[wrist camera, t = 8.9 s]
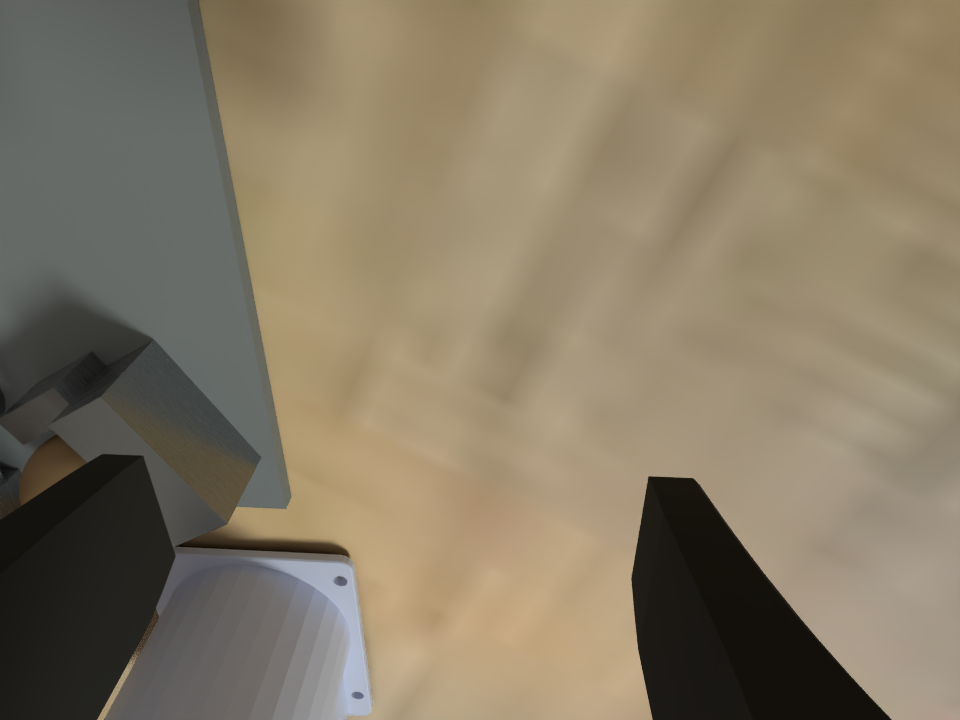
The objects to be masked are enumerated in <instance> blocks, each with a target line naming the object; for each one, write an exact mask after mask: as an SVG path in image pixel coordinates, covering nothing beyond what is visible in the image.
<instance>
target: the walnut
mask: <svg viewBox="0 0 960 720" xmlns="http://www.w3.org/2000/svg"><path fill="white" fill-rule="evenodd" d="M86 463H87V462H86V461H85V460H84V459H83V458H82V457H81V456H80V455H79V454H78V453H77V452H76V451H75V450H73V449H72V448H71V447H70V446H69V445H68V444H67V443H66V442H65V441H64V440H63V439H62V438H61V437H60V436H58V435H57V434H56V435H54V436H53V437H51V438H50V439H48V440H47V441H45V442H44V443H43V444H42V445H40V446H39V447H38V448H37V449H36V450H35V451H34V453H33V454H32V455H31V456H30V458H29V459H28V461H27V463H26V464H25V466H24V469H23V471H22V474H21V477H20V483H19V499H20V504H21V506H22V505H23V504H25V503H26V502H28V501H29V500H31V499H32V498H34V497H35V496H37V495H38V494H40V493H41V492H43V491H44V490H46V489H47V488H49V487H50V486H52V485H53V484H55V483H56V482H58V481H59V480H61V479H62V478H64V477H66V476H67V475H69V474H70V473H72V472H73V471H75V470H76V469H78V468H80V467H81V466H83V465H84V464H86Z"/></svg>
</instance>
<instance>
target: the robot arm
mask: <svg viewBox="0 0 960 720" xmlns="http://www.w3.org/2000/svg"><path fill="white" fill-rule="evenodd" d="M339 576H341V577H339ZM343 577H344V578H343ZM631 579H632V590H633V601H634V612H635V623H636V632H637V642H638V650H639V655H640V660H641V665H642V670H643V675H644V680H645V685H646V689H647V694H648V699H649V704H650V709H651V714H652V718H653V720H891V719H890V717H889V716H888V715H887V714H886V713H885V712H884V711H883V710H882V709H881V708H880V707H879V706H878V705H877V704H876V703H875V702H874V701H873V700H872V699H871V698H870V697H869V695H868V694H867V693H866V692H865V691H864V690H863V689H862V688H861V687H860V686H859V685H858V684H857V683H856V681H855V680H854V679H853V678H852V677H851V676H850V675H849V674H848V673H847V672H846V670H845V669H844V668H843V667H842V666H841V665H840V664H839V662H838V661H837V660H836V659H835V658H834V657H833V656H832V655H831V653H830V652H829V651H828V650H827V649H826V648H825V647H824V646H823V644H822V643H821V642H820V641H819V640H818V639H817V638H816V636H815V635H814V634H813V633H812V632H811V630H810V629H809V628H808V627H807V626H806V625H805V623H804V622H803V621H802V620H801V619H800V617H799V616H798V615H797V614H796V613H795V611H794V610H793V609H792V608H791V606H790V605H789V604H788V603H787V601H786V600H785V599H784V598H783V596H782V595H781V594H780V593H779V591H778V590H777V589H776V588H775V586H774V585H773V584H772V583H771V581H770V580H769V579H768V578H767V576H766V575H765V574H764V573H763V571H762V570H761V569H760V567H759V566H758V565H757V564H756V562H755V561H754V560H753V558H752V557H751V556H750V554H749V553H748V552H747V550H746V549H745V548H744V546H743V545H742V544H741V542H740V541H739V540H738V538H737V537H736V536H735V534H734V533H733V531H732V530H731V529H730V527H729V526H728V525H727V523H726V522H725V520H724V519H723V518H722V516H721V515H720V513H719V512H718V511H717V509H716V508H715V506H714V505H713V503H712V502H711V501H710V499H709V498H708V496H707V495H706V493H705V492H704V491H703V489H702V488H701V486H700V485H699V484H698V483H697V482H696V481H695V480H694V479H693V478H674V477H650V476H649V477H648V483H647V489H646V495H645V501H644V507H643V513H642V519H641V525H640V531H639V537H638V543H637V549H636V554H635V560H634V566H633V572H632V578H631ZM155 609H156V610H157V613H158V616H159V619H158V621H157V623H156V625H155V627H154V629H153V630H152V632H151V634H150V636H149V638H148V640H147V641H146V643H145V645H144V647H143V649H142V651H141V652H140V654H139V656H138V658H137V660H136V662H135V664H134V665H133V667H132V669H131V671H130V673H129V675H128V676H127V678H126V680H125V682H124V684H123V686H122V687H121V689H120V691H119V693H118V695H117V697H116V699H115V700H114V702H113V704H112V706H111V708H110V710H109V711H108V713H107V715H106V717H105V719H104V720H346V719H347V715H356V716H365V715H368V714H369V713H370V712H371V709H372V705H373V700H372V692H371V685H370V677H369V670H368V662H367V655H366V647H365V640H364V632H363V625H362V617H361V610H360V603H359V595H358V588H357V580H356V573H355V565H354V563H353V561H352V560H351V559H350V558H349V557H347V556H345V555H336V554H316V553H295V552H274V551H253V550H232V549H212V548H191V547H173V546H172V543H171V540H170V537H169V534H168V531H167V528H166V524H165V521H164V518H163V515H162V512H161V509H160V506H159V503H158V500H157V497H156V494H155V490H154V487H153V484H152V481H151V478H150V475H149V472H148V469H147V466H146V463H145V460H144V456H141V455H117V454H101V455H100V456H98V457H96V458H95V459H93V460H91V461H89V462H88V463H86V464H84V465H83V466H81V467H80V468H78V469H76V470H75V471H73V472H72V473H70V474H69V475H67V476H66V477H64V478H62V479H61V480H59V481H58V482H56V483H55V484H53V485H52V486H50V487H49V488H47V489H46V490H44V491H43V492H41V493H40V494H38V495H37V496H35V497H34V498H32V499H31V500H29V501H28V502H26V503H25V504H23V505H22V506H20V507H19V508H17V509H16V510H14V511H13V512H11V513H10V514H8V515H7V516H5V517H4V518H2V519H1V520H0V720H97V719H98V717H99V715H100V713H101V711H102V710H103V708H104V706H105V704H106V702H107V701H108V699H109V697H110V695H111V693H112V692H113V690H114V688H115V686H116V684H117V683H118V681H119V679H120V677H121V675H122V673H123V672H124V670H125V668H126V666H127V664H128V662H129V661H130V659H131V657H132V655H133V653H134V651H135V650H136V648H137V646H138V644H139V642H140V640H141V638H142V637H143V635H144V633H145V631H146V629H147V627H148V625H149V623H150V621H151V619H152V616H153V614H154V611H155Z"/></svg>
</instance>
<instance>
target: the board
mask: <svg viewBox="0 0 960 720" xmlns="http://www.w3.org/2000/svg"><path fill="white" fill-rule="evenodd" d="M152 340H155V341H156V342H157V343H158V344H159V345H160V346H161V347H162V348H163V350H164V351H165V352H166V353H167V354H168V355H169V356H170V357H171V358H172V359H173V361H174V362H175V363H176V364H177V365H178V366H179V367H180V368H181V369H182V370H183V372H184V373H185V374H186V375H187V376H188V377H189V378H190V379H191V380H192V381H193V382H194V384H195V385H196V386H197V387H198V388H199V389H200V390H201V391H202V392H203V393H204V395H205V396H206V397H207V398H208V399H209V400H210V401H211V402H212V403H213V404H214V406H215V407H216V408H217V409H218V410H219V411H220V412H221V413H222V414H223V415H224V417H225V418H226V419H227V420H228V421H229V422H230V423H231V424H232V425H233V426H234V428H235V429H236V430H237V431H238V432H239V433H240V434H241V435H242V436H243V437H244V439H245V440H246V441H247V442H248V443H249V444H250V445H251V446H252V447H253V448H254V450H255V451H256V452H257V453H258V454H259V455H260V456H261V459H260V461H259V463H258V465H257V467H256V469H255V471H254V473H253V475H252V477H251V479H250V481H249V483H248V485H247V487H246V489H245V491H244V492H243V494H242V496H241V498H240V500H239V502H238V504H237V506H236V507H257V508H279V509H286V508H287V506H288V503H289V501H290V499H291V492H290V487H289V482H288V476H287V471H286V466H285V460H284V455H283V450H282V444H281V439H280V434H279V429H278V423H277V418H276V413H275V407H274V402H273V397H272V391H271V386H270V381H269V375H268V370H267V365H266V359H265V354H264V349H263V344H262V338H261V333H260V328H259V322H258V317H257V312H256V306H255V301H254V296H253V290H252V285H251V280H250V274H249V269H248V264H247V258H246V253H245V248H244V243H243V237H242V232H241V227H240V221H239V216H238V211H237V205H236V200H235V195H234V189H233V184H232V179H231V173H230V168H229V163H228V157H227V152H226V147H225V142H224V136H223V131H222V126H221V120H220V115H219V110H218V104H217V99H216V94H215V88H214V83H213V78H212V72H211V67H210V62H209V56H208V51H207V46H206V41H205V35H204V30H203V25H202V19H201V14H200V9H199V3H198V0H0V388H1V390H2V392H3V395H4V398H5V412H6V411H7V410H8V409H9V408H10V407H11V406H12V405H14V404H15V403H16V402H17V401H18V400H19V399H20V398H21V397H22V396H23V395H25V394H26V393H27V392H28V391H29V390H30V389H31V388H32V387H33V386H34V385H36V384H37V383H38V382H39V381H41V380H43V379H44V378H46V377H48V376H50V375H51V374H53V373H55V372H57V371H58V370H60V369H62V368H63V367H65V366H67V365H69V364H70V363H72V362H74V361H76V360H77V359H79V358H81V357H82V356H84V355H86V354H88V353H89V352H91V351H92V352H93V353H94V354H95V355H96V356H97V357H98V358H99V359H100V360H101V361H102V362H103V363H104V364H105V365H106V366H107V365H109V364H111V363H113V362H115V361H116V360H118V359H120V358H122V357H123V356H125V355H127V354H129V353H131V352H132V351H134V350H136V349H138V348H139V347H141V346H143V345H145V344H147V343H148V342H150V341H152ZM5 412H4V413H5ZM54 435H56V433H55V432H54V431H53V430H50V431H48V432H47V433H45V434H43V435H41V436H39V437H37V438H35V439H34V440H32V441H30V442H28V443H26V444H24V445H23V444H21V443H20V442H19V441H18V440H17V439H16V438H15V437H14V436H13V435H11V434H10V433H9V432H8V431H7V430H6V429H5V428H4V427H3V426H1V425H0V468H17V469H20V471H21V474H22V471H23V469H24V466H25V464H26V463H27V461H28V459H29V458H30V456H31V455H32V454H33V453H34V451H35V450H36V449H37V448H38V447H39V446H40V445H42V444H43V443H44V442H45V441H47V440H48V439H50V438H51V437H53V436H54Z"/></svg>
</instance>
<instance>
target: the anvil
mask: <svg viewBox="0 0 960 720" xmlns="http://www.w3.org/2000/svg"><path fill="white" fill-rule="evenodd" d="M0 425H1V426H3V427H4V428H5V429H6V430H7V431H8V432H9V433H10V434H11V435H13V436H14V437H15V438H16V439H17V440H18V441H19V442H20V443H21V444H23V445H24V444H26V443H28V442H30V441H32V440H34V439H35V438H37V437H39V436H41V435H43V434H45V433H47V432H48V431H50V430H53V431H54V432H55V433H56V434H57V435H58V436H60V437H61V438H62V439H63V440H64V441H65V442H66V443H67V444H68V445H69V446H70V447H71V448H72V449H73V450H75V451H76V452H77V453H78V454H79V455H80V456H81V457H82V458H83V459H84V460H85V461H86V462H87V463H88V462H89V461H91V460H93V459H95V458H96V457H98V456H100V455H101V454H117V455H141V456H144V460H145V463H146V466H147V469H148V472H149V475H150V478H151V481H152V484H153V487H154V490H155V494H156V497H157V500H158V503H159V506H160V509H161V512H162V515H163V518H164V521H165V524H166V528H167V531H168V534H169V537H170V540H171V543H172V546H173V547H175V546H178V545H180V544H182V543H184V542H187V541H189V540H191V539H194V538H196V537H198V536H201V535H203V534H205V533H208V532H210V531H212V530H215V529H217V528H219V527H222V526H224V525H226V524H228V522H229V520H230V518H231V516H232V514H233V512H234V510H235V508H236V506H237V504H238V502H239V500H240V498H241V496H242V494H243V492H244V491H245V489H246V487H247V485H248V483H249V481H250V479H251V477H252V475H253V473H254V471H255V469H256V467H257V465H258V463H259V461H260V459H261V456H260V455H259V454H258V453H257V452H256V451H255V450H254V448H253V447H252V446H251V445H250V444H249V443H248V442H247V441H246V440H245V439H244V437H243V436H242V435H241V434H240V433H239V432H238V431H237V430H236V429H235V428H234V426H233V425H232V424H231V423H230V422H229V421H228V420H227V419H226V418H225V417H224V415H223V414H222V413H221V412H220V411H219V410H218V409H217V408H216V407H215V406H214V404H213V403H212V402H211V401H210V400H209V399H208V398H207V397H206V396H205V395H204V393H203V392H202V391H201V390H200V389H199V388H198V387H197V386H196V385H195V384H194V382H193V381H192V380H191V379H190V378H189V377H188V376H187V375H186V374H185V373H184V372H183V370H182V369H181V368H180V367H179V366H178V365H177V364H176V363H175V362H174V361H173V359H172V358H171V357H170V356H169V355H168V354H167V353H166V352H165V351H164V350H163V348H162V347H161V346H160V345H159V344H158V343H157V342H156V341H155V340H152V341H150V342H148V343H147V344H145V345H143V346H141V347H139V348H138V349H136V350H134V351H132V352H131V353H129V354H127V355H125V356H123V357H122V358H120V359H118V360H116V361H115V362H113V363H111V364H109V365H107V366H106V365H105V364H104V363H103V362H102V361H101V360H100V359H99V358H98V357H97V356H96V355H95V354H94V353H93V352H92V351H91V352H89V353H88V354H86V355H84V356H82V357H81V358H79V359H77V360H76V361H74V362H72V363H70V364H69V365H67V366H65V367H63V368H62V369H60V370H58V371H57V372H55V373H53V374H51V375H50V376H48V377H46V378H44V379H43V380H41V381H39V382H38V383H37V384H36V385H34V386H33V387H32V388H31V389H30V390H29V391H28V392H27V393H26V394H25V395H23V396H22V397H21V398H20V399H19V400H18V401H17V402H16V403H15V404H14V405H12V406H11V407H10V408H9V409H8V410H7V411H6V412H5V413H4V414H3V415H1V416H0Z"/></svg>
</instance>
